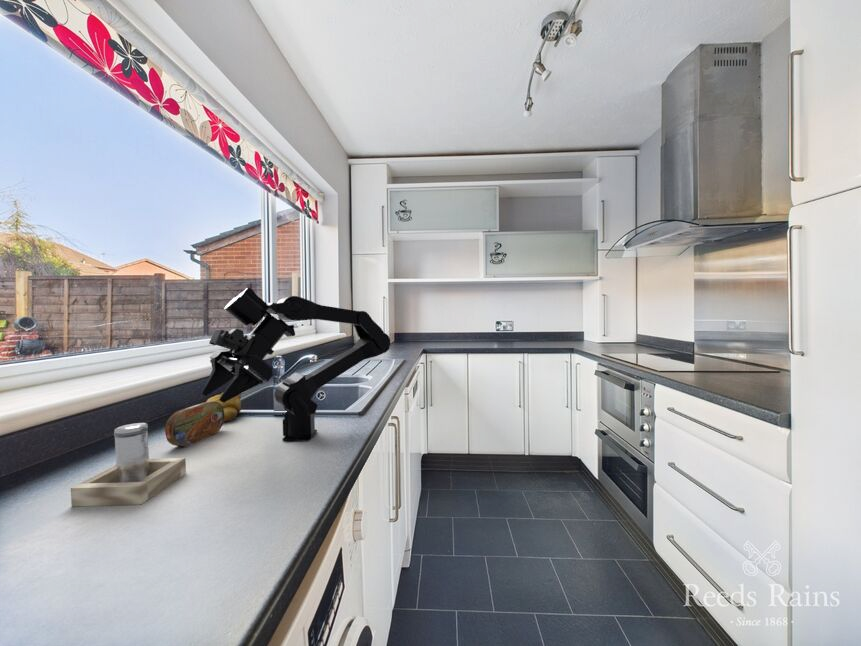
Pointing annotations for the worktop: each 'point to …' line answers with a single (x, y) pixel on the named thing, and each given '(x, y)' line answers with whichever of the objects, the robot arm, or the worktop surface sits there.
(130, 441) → the silver metal canister
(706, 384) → the worktop surface
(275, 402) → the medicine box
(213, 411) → the tin
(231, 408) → the bread roll
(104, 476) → the collar
